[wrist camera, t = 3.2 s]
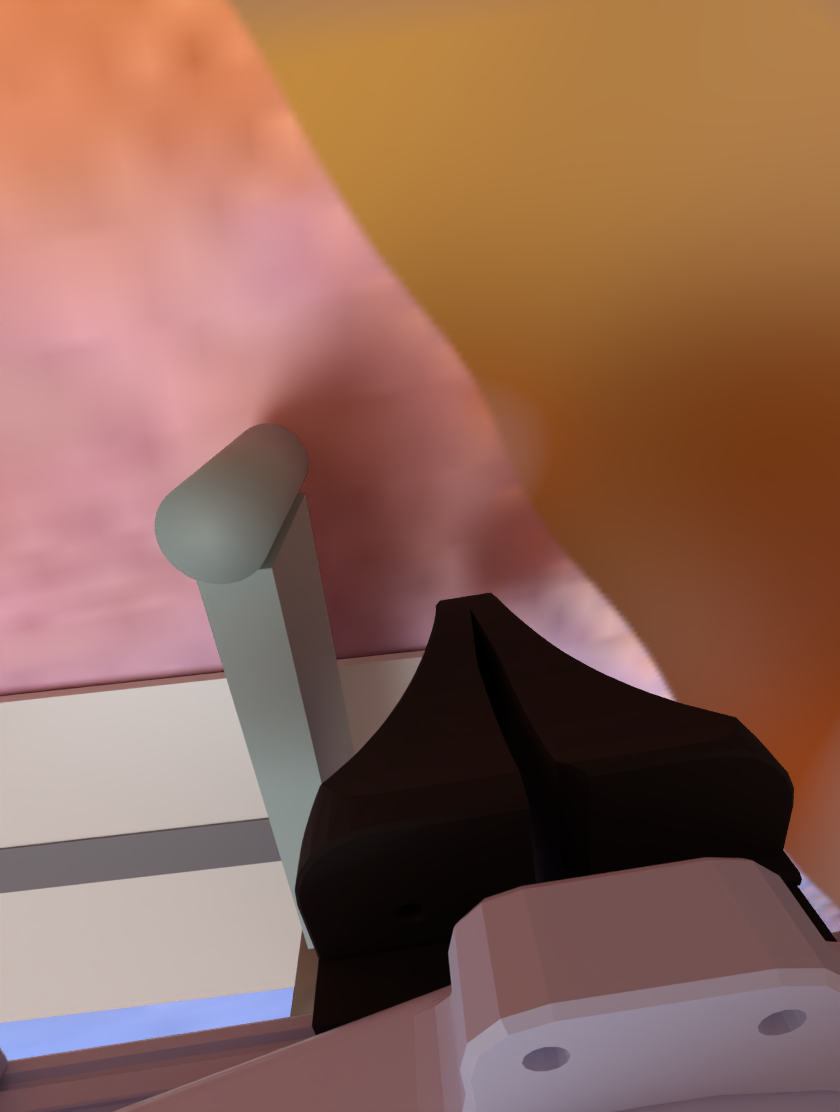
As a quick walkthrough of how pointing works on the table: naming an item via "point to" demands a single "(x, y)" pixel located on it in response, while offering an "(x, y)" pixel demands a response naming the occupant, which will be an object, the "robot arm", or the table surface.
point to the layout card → (148, 843)
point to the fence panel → (266, 618)
